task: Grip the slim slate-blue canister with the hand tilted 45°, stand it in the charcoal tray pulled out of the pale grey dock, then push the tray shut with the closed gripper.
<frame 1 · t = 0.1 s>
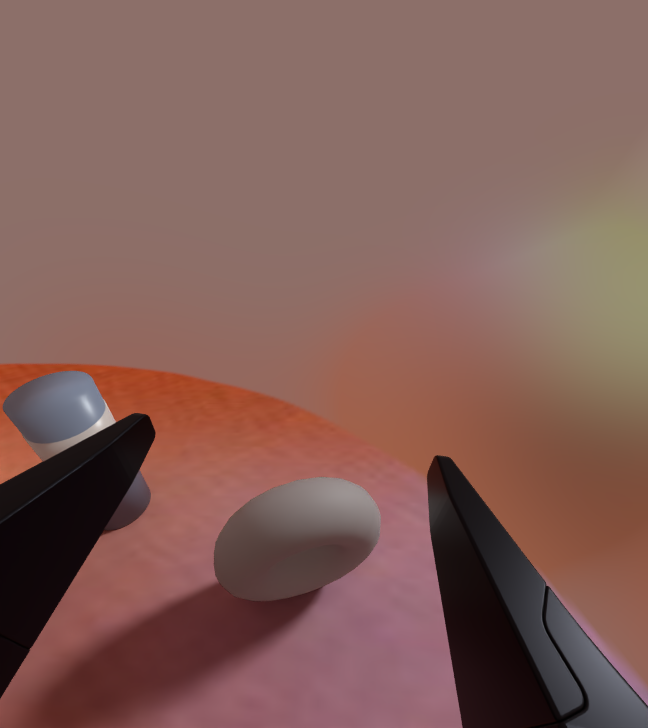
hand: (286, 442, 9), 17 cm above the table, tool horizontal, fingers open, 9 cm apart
canister: (122, 504, 24), on the table
donut: (300, 574, 21), on the table
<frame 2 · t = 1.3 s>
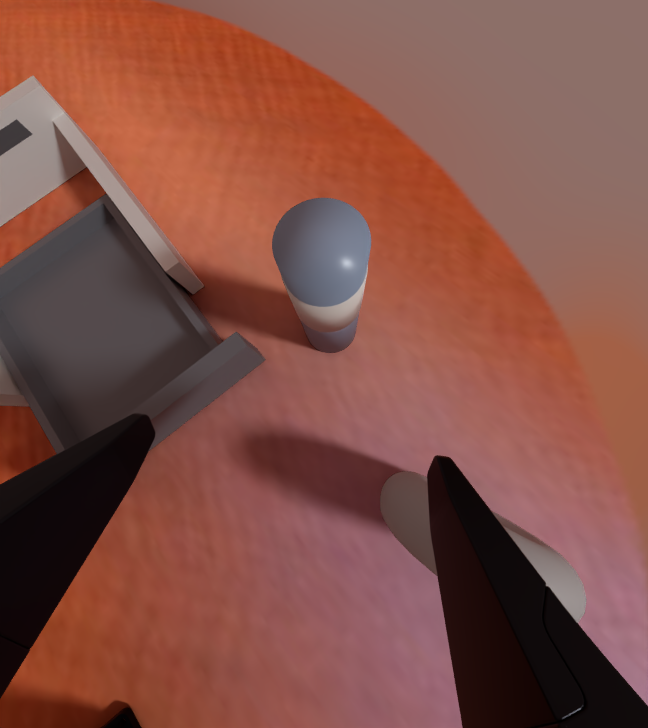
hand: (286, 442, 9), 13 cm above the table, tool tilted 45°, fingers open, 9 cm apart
canister: (330, 328, 24), on the table
donut: (436, 507, 21), on the table
tray: (95, 329, 22), point 3 cm above the table, slide at 7.0 cm
dock: (77, 273, 26), on the table
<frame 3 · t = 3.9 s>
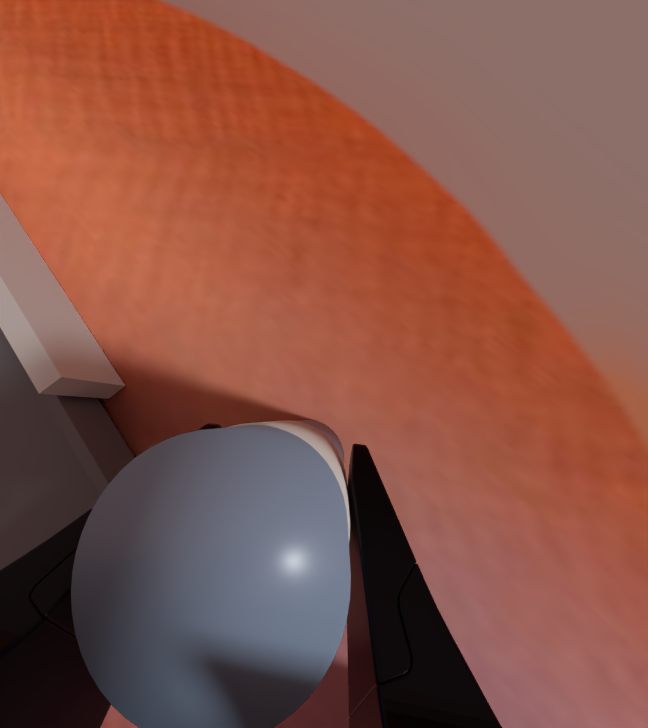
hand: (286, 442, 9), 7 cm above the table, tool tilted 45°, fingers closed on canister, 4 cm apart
canister: (306, 457, 16), on the table, touching gripper
when the fingers open (10 cm above the table, at t = 9.1 s): canister drops 1 cm, resting on tray.
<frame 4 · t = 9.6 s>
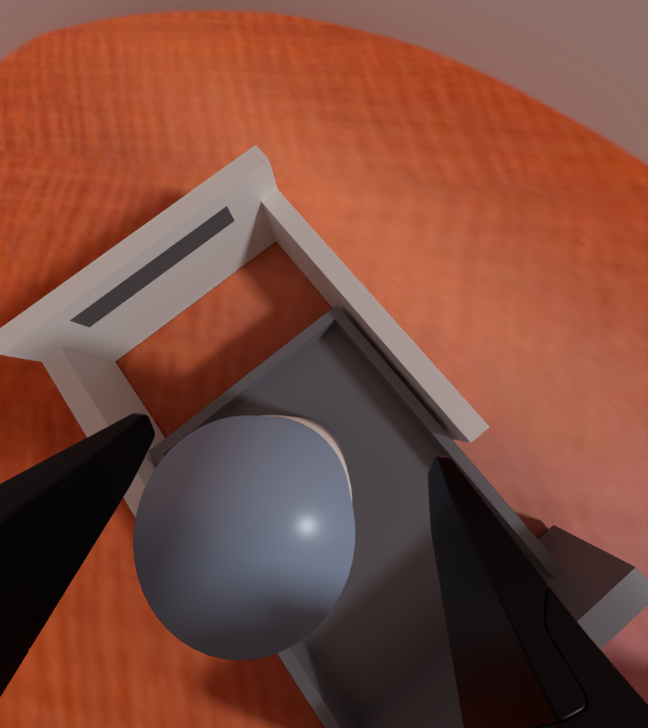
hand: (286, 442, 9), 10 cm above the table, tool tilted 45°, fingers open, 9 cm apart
canister: (307, 454, 17), point 1 cm above the table, touching tray
tray: (349, 515, 15), point 3 cm above the table, slide at 7.0 cm, touching canister
dock: (272, 400, 19), on the table
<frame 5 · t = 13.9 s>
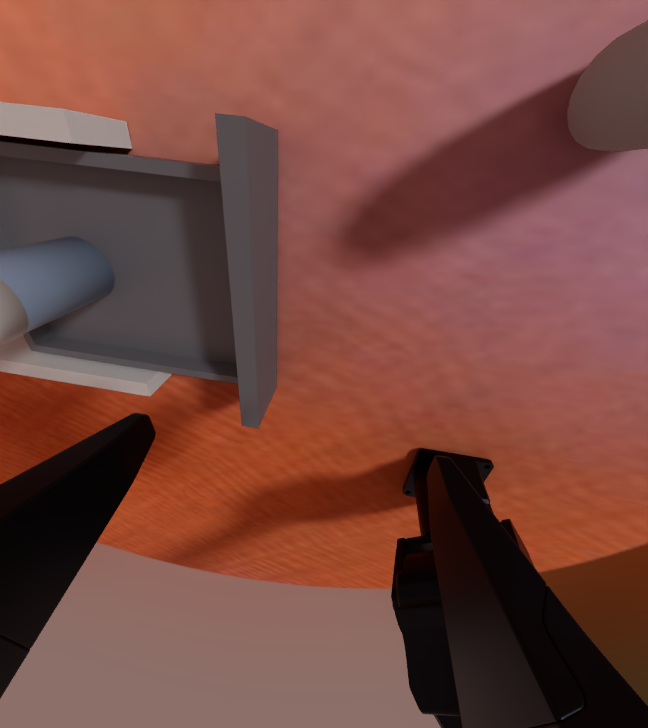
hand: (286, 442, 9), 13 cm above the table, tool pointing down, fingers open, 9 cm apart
canister: (85, 268, 20), point 1 cm above the table, touching tray
tray: (122, 281, 18), point 3 cm above the table, slide at 7.0 cm, touching canister
dock: (47, 255, 21), on the table
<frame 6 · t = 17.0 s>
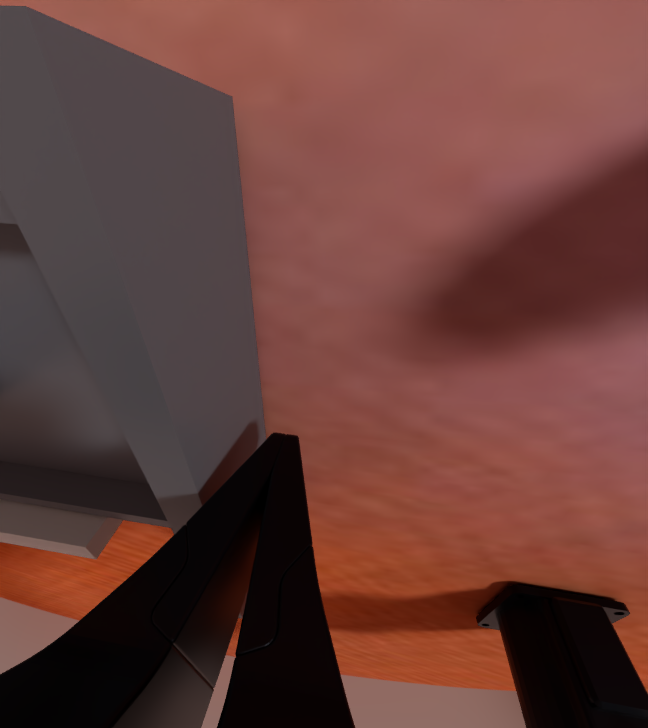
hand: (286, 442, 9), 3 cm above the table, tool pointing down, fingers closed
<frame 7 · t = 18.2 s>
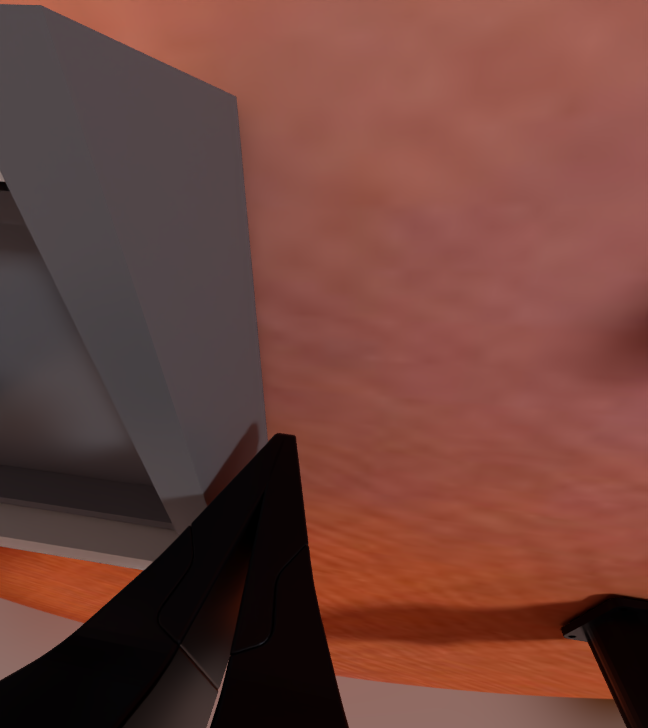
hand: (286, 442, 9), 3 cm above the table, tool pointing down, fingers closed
dock: (34, 360, 12), on the table
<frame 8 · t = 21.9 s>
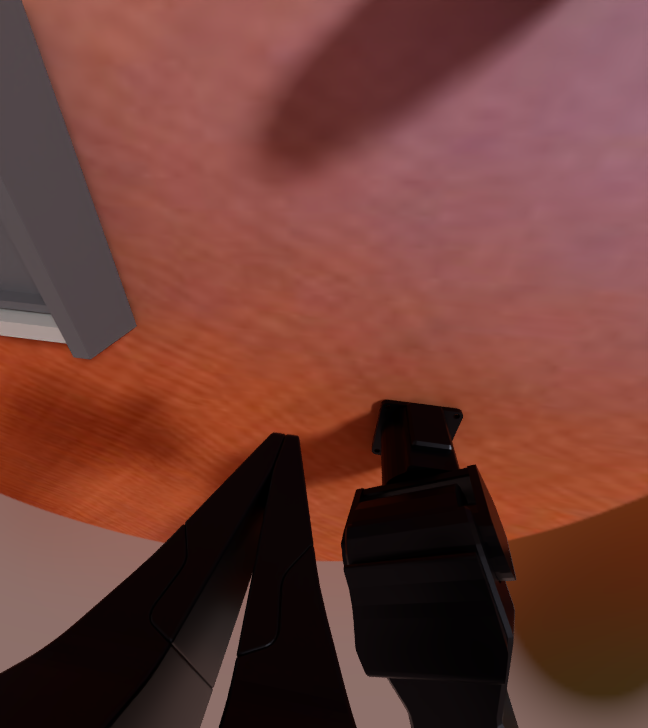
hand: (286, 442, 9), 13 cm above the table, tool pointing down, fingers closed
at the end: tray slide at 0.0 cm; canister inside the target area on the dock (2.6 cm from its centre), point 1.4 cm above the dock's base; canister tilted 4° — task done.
